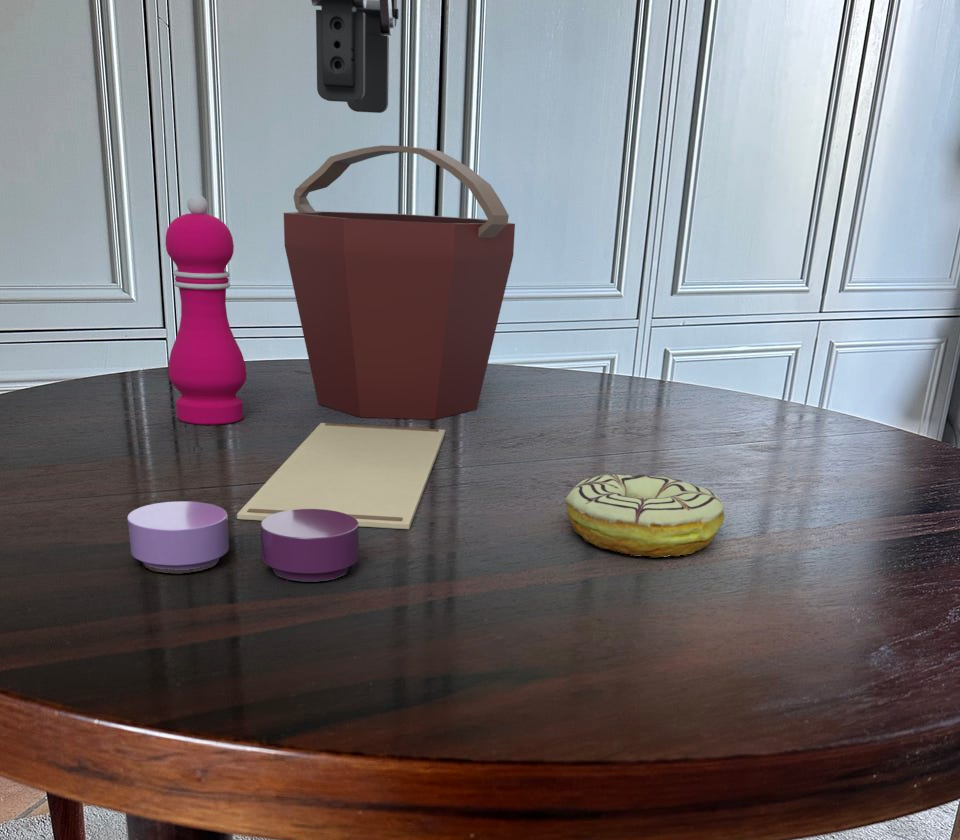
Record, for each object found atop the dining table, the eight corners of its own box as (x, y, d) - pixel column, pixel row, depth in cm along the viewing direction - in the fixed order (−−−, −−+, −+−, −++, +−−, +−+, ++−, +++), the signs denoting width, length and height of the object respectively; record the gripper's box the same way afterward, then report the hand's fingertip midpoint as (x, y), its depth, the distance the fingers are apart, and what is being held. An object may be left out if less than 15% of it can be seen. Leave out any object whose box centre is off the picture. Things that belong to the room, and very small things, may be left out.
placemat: (237, 519, 71) (236, 512, 71) (320, 426, 98) (320, 421, 98) (409, 529, 71) (409, 522, 70) (445, 433, 98) (445, 428, 98)
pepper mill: (260, 422, 99) (250, 197, 91) (187, 429, 95) (170, 194, 87) (231, 408, 104) (220, 194, 96) (161, 413, 100) (143, 191, 92)
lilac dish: (117, 575, 60) (111, 526, 59) (151, 544, 65) (146, 498, 64) (214, 581, 60) (211, 532, 59) (240, 549, 65) (238, 504, 64)
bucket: (252, 392, 112) (240, 138, 102) (409, 376, 126) (413, 151, 116) (388, 436, 96) (391, 140, 86) (552, 412, 110) (572, 154, 100)
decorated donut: (649, 509, 78) (654, 460, 76) (750, 551, 69) (759, 497, 68) (535, 525, 73) (539, 473, 71) (630, 573, 64) (637, 515, 63)
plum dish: (251, 583, 60) (249, 534, 59) (275, 551, 65) (273, 506, 64) (350, 589, 60) (349, 540, 59) (365, 556, 65) (365, 511, 64)
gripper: (305, -238, 53) (310, 112, 60) (230, -375, 40) (248, 92, 47) (449, -232, 53) (439, 119, 60) (421, -368, 40) (412, 100, 47)
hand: (355, 106), depth 53 cm, fingers open, 8 cm apart
